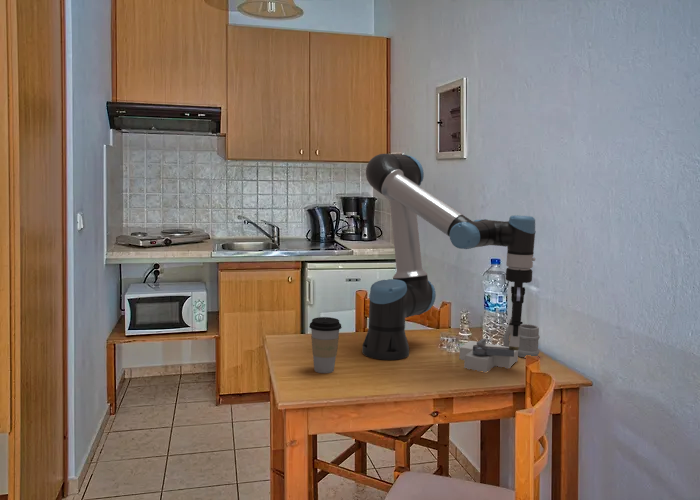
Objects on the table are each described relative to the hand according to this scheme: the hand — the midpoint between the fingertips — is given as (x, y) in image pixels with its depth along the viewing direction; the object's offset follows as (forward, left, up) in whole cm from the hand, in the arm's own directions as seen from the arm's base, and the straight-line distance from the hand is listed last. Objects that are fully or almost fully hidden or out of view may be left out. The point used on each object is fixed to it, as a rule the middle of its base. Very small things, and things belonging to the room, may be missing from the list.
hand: (514, 346), depth 190 cm
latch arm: (-6, 0, -4) cm, 7 cm away
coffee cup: (-47, -32, -8) cm, 57 cm away
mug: (-3, +19, -8) cm, 21 cm away
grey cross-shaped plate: (-10, +7, -8) cm, 14 cm away
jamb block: (-10, -2, -8) cm, 13 cm away
